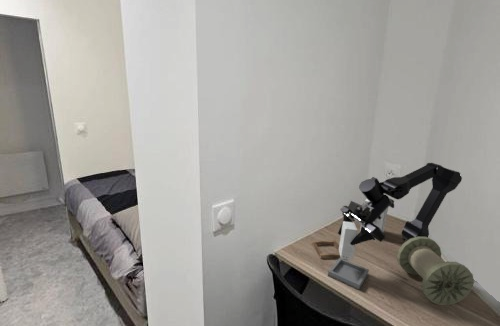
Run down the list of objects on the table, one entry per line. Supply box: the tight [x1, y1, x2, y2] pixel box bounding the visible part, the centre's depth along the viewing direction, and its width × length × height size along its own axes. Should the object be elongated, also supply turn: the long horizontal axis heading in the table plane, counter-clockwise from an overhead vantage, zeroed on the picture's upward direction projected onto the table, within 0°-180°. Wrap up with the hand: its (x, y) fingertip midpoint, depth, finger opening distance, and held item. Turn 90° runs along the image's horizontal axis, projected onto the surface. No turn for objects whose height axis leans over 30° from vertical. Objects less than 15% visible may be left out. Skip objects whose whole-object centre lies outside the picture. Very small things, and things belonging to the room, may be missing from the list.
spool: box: [396, 236, 475, 306], centre depth 94 cm, size 16×15×15 cm
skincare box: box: [338, 220, 359, 261], centre depth 100 cm, size 6×4×12 cm
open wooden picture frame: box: [311, 240, 341, 260], centre depth 115 cm, size 10×10×2 cm
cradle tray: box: [327, 258, 370, 291], centre depth 100 cm, size 11×11×2 cm
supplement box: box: [359, 198, 389, 233], centre depth 130 cm, size 10×9×17 cm
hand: (344, 239), depth 99 cm, fingers closed on skincare box, 7 cm apart
